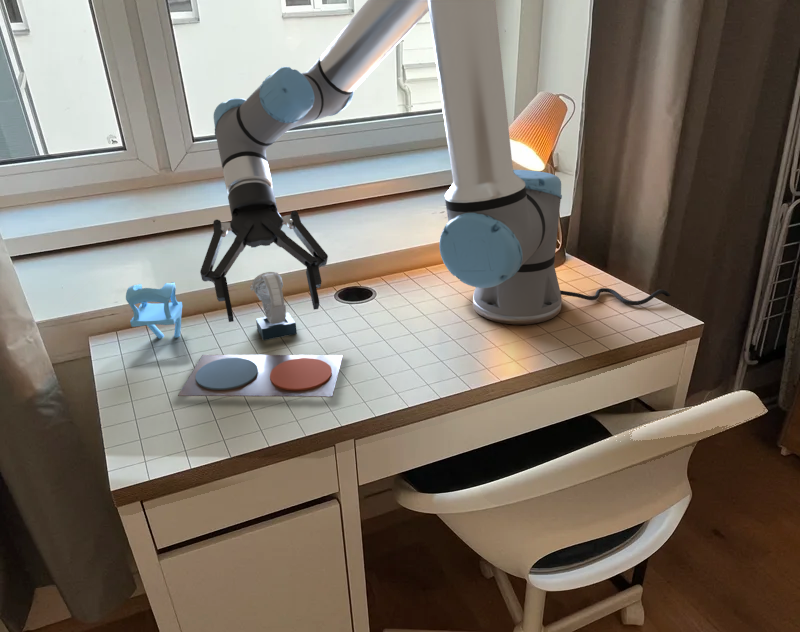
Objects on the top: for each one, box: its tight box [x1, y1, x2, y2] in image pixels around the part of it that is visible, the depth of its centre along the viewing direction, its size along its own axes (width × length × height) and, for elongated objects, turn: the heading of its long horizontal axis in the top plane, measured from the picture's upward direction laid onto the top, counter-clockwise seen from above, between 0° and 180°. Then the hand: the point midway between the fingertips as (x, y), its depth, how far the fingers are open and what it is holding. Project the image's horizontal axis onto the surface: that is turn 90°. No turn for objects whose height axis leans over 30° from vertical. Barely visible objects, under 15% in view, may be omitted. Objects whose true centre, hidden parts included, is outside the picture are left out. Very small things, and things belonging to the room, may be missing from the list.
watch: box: [249, 271, 298, 341], centre depth 113 cm, size 6×8×11 cm
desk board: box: [177, 354, 344, 398], centre depth 104 cm, size 22×12×1 cm, turn 87°
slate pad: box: [195, 358, 258, 390], centre depth 104 cm, size 9×9×1 cm
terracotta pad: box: [270, 358, 332, 391], centre depth 103 cm, size 9×9×1 cm
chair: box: [125, 281, 184, 340], centre depth 110 cm, size 8×8×12 cm
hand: (274, 312), depth 112 cm, fingers open, 13 cm apart
